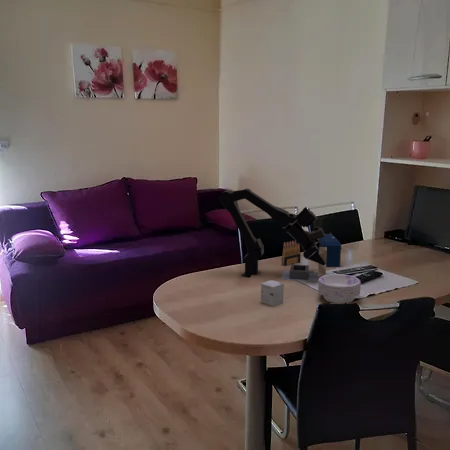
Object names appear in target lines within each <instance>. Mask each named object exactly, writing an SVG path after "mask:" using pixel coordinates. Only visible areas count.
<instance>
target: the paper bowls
mask: <svg viewBox="0 0 450 450" xmlns="http://www.w3.org/2000/svg"><path fill="white" fill-rule="evenodd" d="M328 274H329V275H324V276H321V277H320V278H319V280H318V282H317V285H318V287H317V290H318V293H319V294H320V295H322V296H323V298H324V300H326V301H327V302H328V303H331V304H336V303H346V304H349V303H352V302H353V301H354V299H355V298H357V297H359V296H360V294H361V289H362V287H361V285H362V283H361V280H360V279H359V278H357V277H356V276H353V275H349V274H340V273H328Z"/></svg>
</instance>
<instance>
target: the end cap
mask: <svg viewBox="0 0 450 450" xmlns="http://www.w3.org/2000/svg"><path fill="white" fill-rule="evenodd" d="M289 271H290V279H302V280H308V274H309V272H310V265H308V264H291V265H290V268H289Z"/></svg>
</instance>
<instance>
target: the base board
mask: <svg viewBox="0 0 450 450" xmlns="http://www.w3.org/2000/svg"><path fill="white" fill-rule="evenodd" d="M329 274H330V273H326V275H329ZM280 280H287V281H288V280H289V281H302V282H303V281H304V282H315V283H316V282H317V283H318V280H319V279H318V272H311V271H309V274H308V280H302V279H290V270H283V272H282V275H281V277H280Z"/></svg>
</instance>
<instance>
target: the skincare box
mask: <svg viewBox="0 0 450 450" xmlns="http://www.w3.org/2000/svg"><path fill="white" fill-rule="evenodd" d="M284 286H285V283H282V282H280V281H277V280H273V279H271V280H270V279H269V280H267V281H264V282H262V283H261V285H260V287H261V288H260V302H261V303H262V304H265V305H269V306H271V307H275V306H277V305H280V304H282V303H284V290H285V289H284Z"/></svg>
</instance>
